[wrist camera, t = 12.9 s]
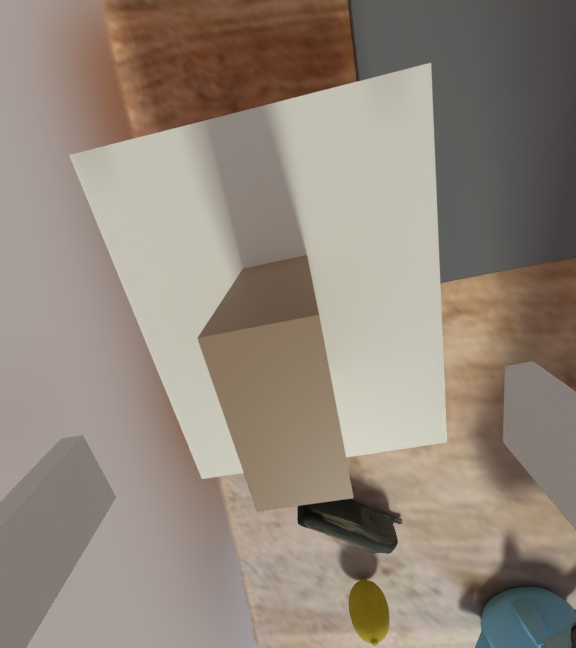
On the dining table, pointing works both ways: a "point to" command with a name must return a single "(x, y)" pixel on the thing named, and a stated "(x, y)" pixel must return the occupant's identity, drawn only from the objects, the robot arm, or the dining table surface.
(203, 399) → the lid
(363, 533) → the mobile phone
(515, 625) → the teapot
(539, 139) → the mat
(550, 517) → the dining table surface
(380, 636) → the lemon
